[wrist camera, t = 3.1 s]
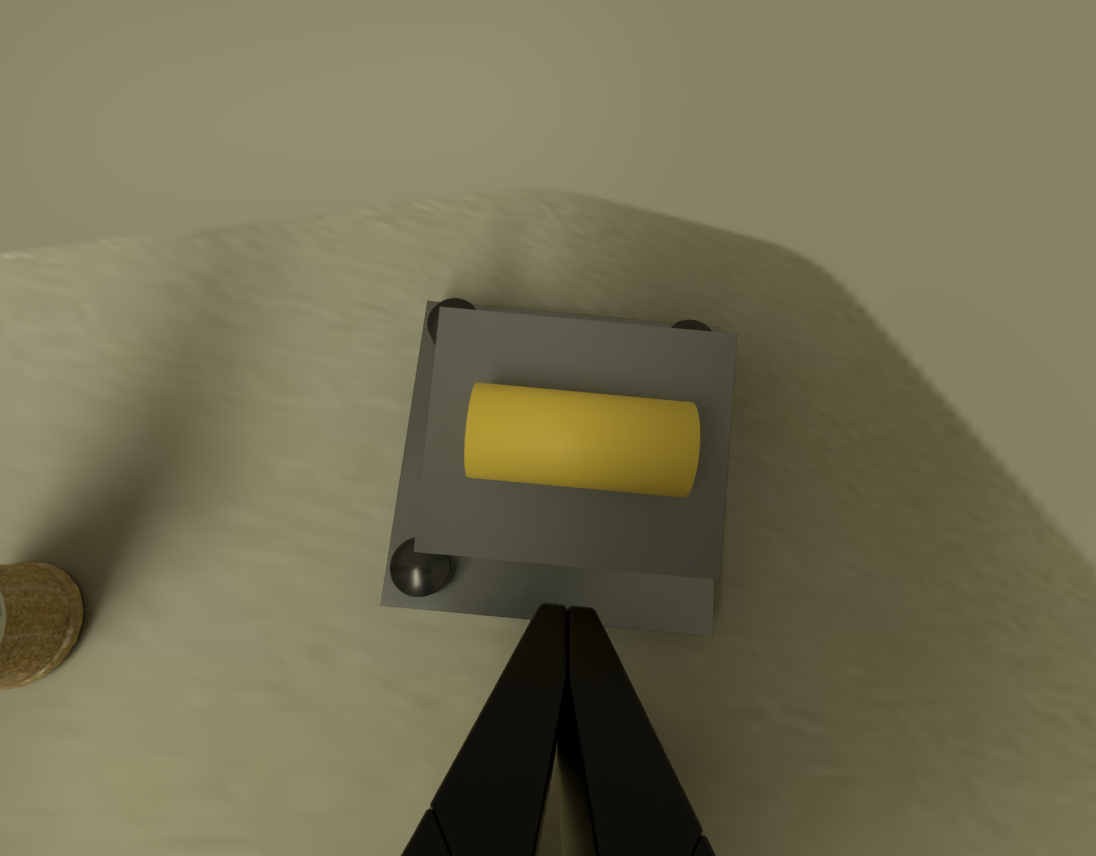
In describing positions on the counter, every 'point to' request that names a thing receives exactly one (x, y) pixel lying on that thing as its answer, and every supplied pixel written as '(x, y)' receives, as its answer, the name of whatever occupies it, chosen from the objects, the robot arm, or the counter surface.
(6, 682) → the sprinkles bottle
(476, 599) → the plate
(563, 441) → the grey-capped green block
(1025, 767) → the counter surface
